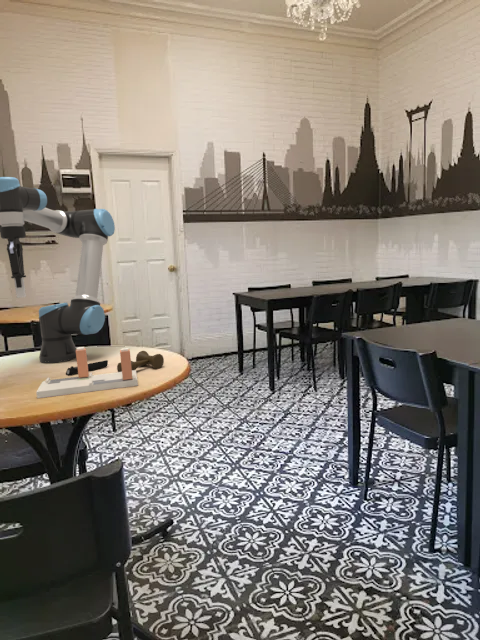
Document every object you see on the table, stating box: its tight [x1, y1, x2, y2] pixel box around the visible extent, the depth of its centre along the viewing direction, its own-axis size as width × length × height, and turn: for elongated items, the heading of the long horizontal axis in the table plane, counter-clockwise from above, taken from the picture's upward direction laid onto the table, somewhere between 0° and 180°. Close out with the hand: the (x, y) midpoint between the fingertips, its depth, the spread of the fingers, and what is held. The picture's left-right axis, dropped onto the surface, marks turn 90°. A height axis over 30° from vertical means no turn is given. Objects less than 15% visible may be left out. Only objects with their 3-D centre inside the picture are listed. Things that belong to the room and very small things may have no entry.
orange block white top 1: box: [75, 346, 90, 378], centre depth 154 cm, size 3×3×10 cm
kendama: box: [116, 350, 165, 372], centre depth 169 cm, size 6×10×20 cm
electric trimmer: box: [65, 359, 109, 377], centre depth 172 cm, size 4×16×3 cm, turn 129°
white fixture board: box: [36, 370, 139, 399], centre depth 151 cm, size 14×30×3 cm, turn 105°
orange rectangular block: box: [119, 347, 133, 380], centre depth 148 cm, size 3×3×10 cm
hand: (21, 297), depth 157 cm, fingers closed
